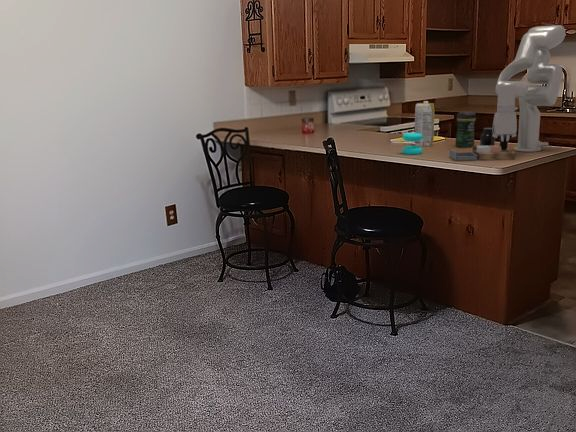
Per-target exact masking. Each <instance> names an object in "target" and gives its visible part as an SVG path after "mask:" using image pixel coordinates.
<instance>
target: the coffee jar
mask: <svg viewBox="0 0 576 432" xmlns="http://www.w3.org/2000/svg"><path fill="white" fill-rule="evenodd" d="M476 116H477V115H476V112H475V111H469V110H468V111H460V112H458V113H457V115H456V122H457V124H456V125H457V127H456V128H457V129H456V136H455V147H457V148H473V146H475V124H476V120H477V117H476Z"/></svg>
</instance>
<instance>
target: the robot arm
mask: <svg viewBox="0 0 576 432" xmlns="http://www.w3.org/2000/svg"><path fill="white" fill-rule="evenodd" d="M565 37H566V30H565V27H564V26H563V25H560V24H557V25H556V24H555V25H540V26H538V25H537V26H534V27H531V28H529V29H528V31H527V32H526V33H525V34H523V36H522V38H521V40H520V44H519V46H518V49H517V52H516V56H515V58H514V60H513V61H512V62H510V63H509V64H508V65H507V66H506V67H505V68H504V69H503V70H502V71H501V72H500V74H499V76H498V79H497V82H496V84H495V94H496V96H497V105H496V106H497V107H496V109H497V110H496V112H495V113H494V115H493V121H492V127H491V128H492V133H493V135H492V137H495V139H498V140H499V145H500V146H501V150H506V148H507V149H508V143H509V140H510V139H512V138H515V137H517V133H518V138H517V146H514V149H513V150H514V151H515V152H524V153H526V152H528V153H535V152H541V151H542V147H548V146H549V142H548V141H547V142H546V141H544V142H543V141H541V140H539V139H540V137H539V136H540V126H541V125H540V124H541V112H540V110H539V108H538V106H540V107H544V106H545V107H550V106H553V105H555V103H556V101H557V99H558V96H559V92H560V89H561V84H562V79H563V68H562V66H561V65H560V64H557V63H550V59H551V53H550V51H549V50H551V49H554V48H555V47H557V46H558V45H560V44H561V43H562V42H564V40H565ZM526 70H527V75H526V81H527V82H525V81H520V80H513V81H512V80H510V79H511V78H513V76H515V75H517V74H519V73H521V72H523V71H526ZM527 83H529V84H531V85H528V84H527ZM516 99H518V103H519V108H518V107H517V106H516ZM518 109H519V117H518V118H519V119H518V120H517V113H516V111H517V110H518ZM517 123H518V124H517ZM517 127H518V129H517ZM517 130H518V132H517Z"/></svg>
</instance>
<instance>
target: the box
mask: <svg viewBox="0 0 576 432" xmlns="http://www.w3.org/2000/svg"><path fill="white" fill-rule="evenodd" d="M449 158H450V159H452V160H453V161H455V162H472V161H473V162H474V161H475V162H477V161H478V159H477V155H476V154H474V153H472V151H468V152H457V151H456V150H453V149H452V148H449Z"/></svg>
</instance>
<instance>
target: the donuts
mask: <svg viewBox="0 0 576 432" xmlns="http://www.w3.org/2000/svg"><path fill="white" fill-rule="evenodd" d="M422 138H423V135H422V134H420V133H415V132H407V133H404V134H403V135H402V139H403V141H406V142H414V143H415V141H420V140H421V139H422ZM401 150H402V151H401V152H402V153H403V154H404V155H410V156H411V155H421V154H422V153H423V148H422V146H416V145H408V146H405V147H403V148H402V149H401Z"/></svg>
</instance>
